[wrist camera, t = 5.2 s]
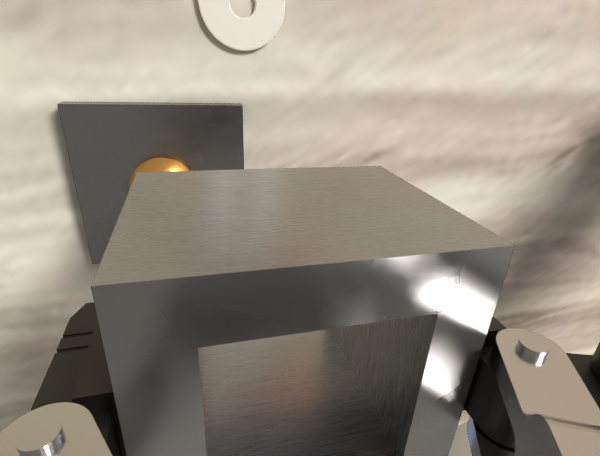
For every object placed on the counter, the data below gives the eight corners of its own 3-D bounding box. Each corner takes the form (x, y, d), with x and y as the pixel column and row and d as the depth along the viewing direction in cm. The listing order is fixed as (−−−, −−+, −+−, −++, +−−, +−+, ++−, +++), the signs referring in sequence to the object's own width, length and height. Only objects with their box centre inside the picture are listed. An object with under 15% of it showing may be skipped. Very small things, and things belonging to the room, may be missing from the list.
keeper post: (240, 103, 24) (259, 125, 17) (244, 245, 28) (260, 310, 21) (63, 101, 21) (-3, 126, 14) (95, 256, 26) (57, 334, 18)
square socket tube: (380, 166, 11) (514, 245, 6) (355, 343, 13) (438, 485, 9) (136, 172, 9) (91, 286, 5) (163, 373, 12) (150, 567, 7)
